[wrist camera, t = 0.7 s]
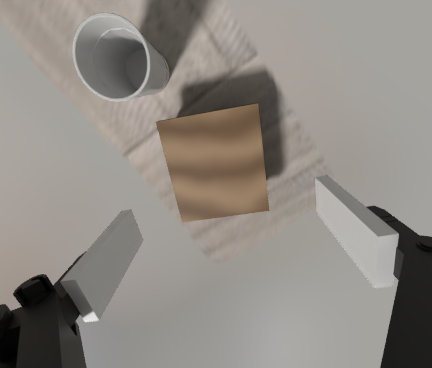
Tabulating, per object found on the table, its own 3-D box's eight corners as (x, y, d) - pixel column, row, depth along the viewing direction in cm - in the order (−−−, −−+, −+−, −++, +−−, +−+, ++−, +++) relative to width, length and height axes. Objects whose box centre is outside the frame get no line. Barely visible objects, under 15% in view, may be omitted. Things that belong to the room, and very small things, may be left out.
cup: (159, 31, 32) (123, -5, 21) (183, 87, 35) (164, 82, 23) (112, 56, 33) (56, 36, 22) (139, 108, 36) (100, 113, 25)
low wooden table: (166, 118, 36) (156, 122, 31) (252, 102, 35) (258, 103, 29) (188, 205, 42) (182, 222, 36) (263, 194, 41) (269, 210, 35)
